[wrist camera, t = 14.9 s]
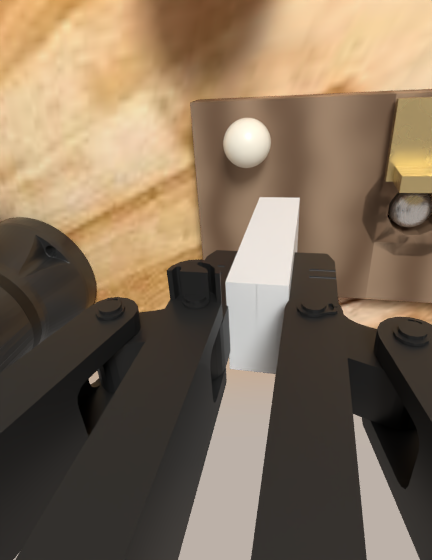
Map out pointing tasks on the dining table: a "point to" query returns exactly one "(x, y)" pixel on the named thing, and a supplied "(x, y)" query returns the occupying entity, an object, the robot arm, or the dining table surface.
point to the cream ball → (247, 142)
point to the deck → (317, 186)
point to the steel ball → (410, 208)
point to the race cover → (411, 146)
